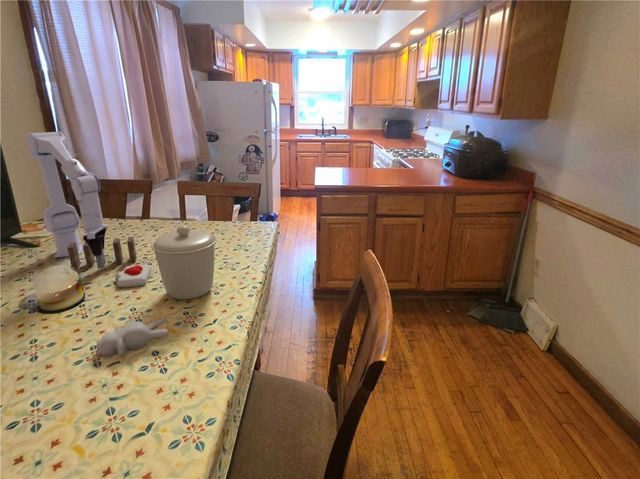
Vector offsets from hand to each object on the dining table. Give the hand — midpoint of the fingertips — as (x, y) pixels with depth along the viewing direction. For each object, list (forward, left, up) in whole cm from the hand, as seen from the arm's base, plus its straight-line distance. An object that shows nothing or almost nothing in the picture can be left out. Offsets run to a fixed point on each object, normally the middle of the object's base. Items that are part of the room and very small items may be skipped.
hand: (99, 252), depth 127 cm
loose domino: (0, 0, -5) cm, 5 cm away
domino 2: (-6, -4, -7) cm, 10 cm away
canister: (+25, +27, -7) cm, 38 cm away
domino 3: (-6, +5, -7) cm, 10 cm away
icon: (+10, +10, -7) cm, 16 cm away
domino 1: (-6, -9, -7) cm, 13 cm away
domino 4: (-6, +9, -7) cm, 13 cm away
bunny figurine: (+49, +13, -7) cm, 51 cm away
